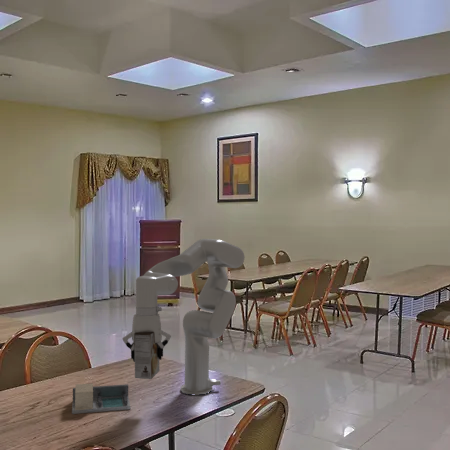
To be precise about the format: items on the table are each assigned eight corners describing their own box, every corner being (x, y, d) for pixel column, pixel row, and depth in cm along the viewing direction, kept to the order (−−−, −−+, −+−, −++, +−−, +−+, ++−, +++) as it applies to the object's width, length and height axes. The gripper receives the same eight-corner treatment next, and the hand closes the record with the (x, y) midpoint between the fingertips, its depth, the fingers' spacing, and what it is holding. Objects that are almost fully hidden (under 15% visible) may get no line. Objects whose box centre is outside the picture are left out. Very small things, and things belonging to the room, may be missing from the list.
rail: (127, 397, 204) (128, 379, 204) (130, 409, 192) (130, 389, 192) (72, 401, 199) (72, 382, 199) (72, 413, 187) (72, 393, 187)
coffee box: (143, 370, 197) (142, 326, 196) (159, 371, 196) (159, 327, 195) (134, 378, 188) (133, 332, 187) (151, 379, 187) (151, 333, 186)
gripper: (169, 307, 197) (169, 354, 197) (121, 310, 192) (121, 358, 193) (172, 312, 189) (173, 360, 190) (122, 314, 185) (122, 364, 186)
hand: (147, 359), depth 192 cm, fingers closed on coffee box, 8 cm apart
